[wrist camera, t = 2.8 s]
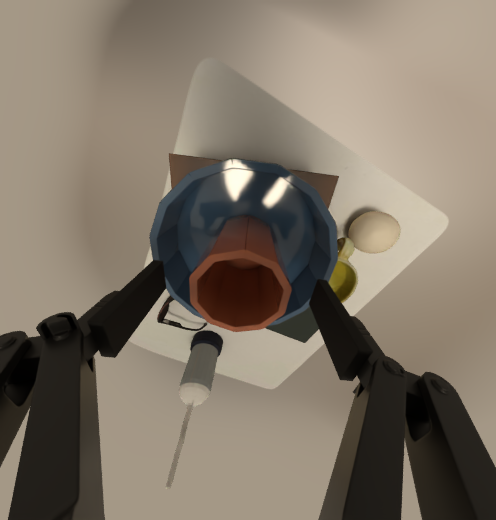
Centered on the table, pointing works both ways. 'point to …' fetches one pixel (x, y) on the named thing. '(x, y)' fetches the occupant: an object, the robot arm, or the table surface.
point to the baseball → (374, 232)
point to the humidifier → (197, 381)
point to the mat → (297, 326)
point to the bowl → (245, 203)
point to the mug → (344, 271)
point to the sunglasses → (165, 321)
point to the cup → (241, 277)
